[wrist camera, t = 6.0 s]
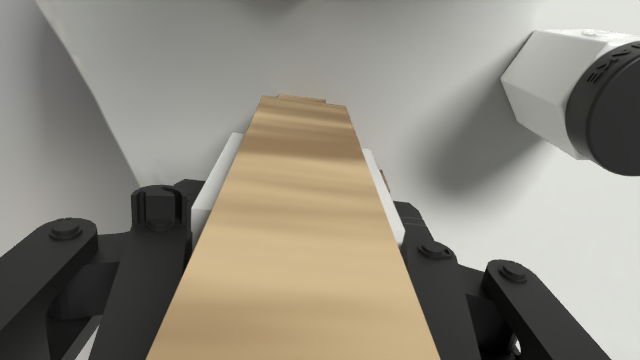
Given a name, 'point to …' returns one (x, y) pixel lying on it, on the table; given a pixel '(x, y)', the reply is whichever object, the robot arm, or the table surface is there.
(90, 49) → the table surface
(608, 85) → the jar
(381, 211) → the peg long
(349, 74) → the table surface
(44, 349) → the robot arm
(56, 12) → the table surface
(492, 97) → the table surface
